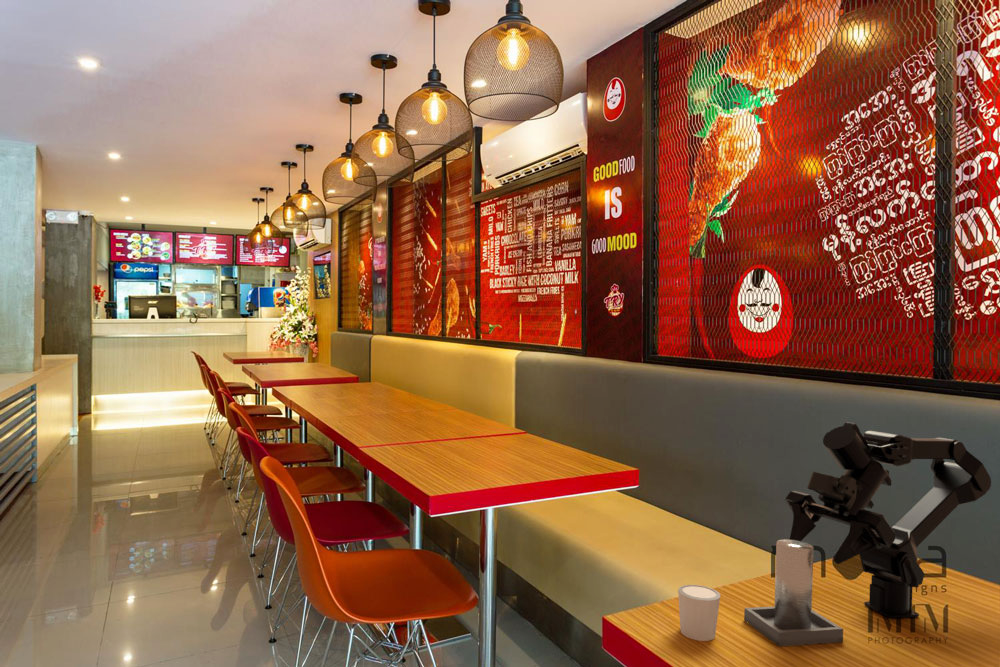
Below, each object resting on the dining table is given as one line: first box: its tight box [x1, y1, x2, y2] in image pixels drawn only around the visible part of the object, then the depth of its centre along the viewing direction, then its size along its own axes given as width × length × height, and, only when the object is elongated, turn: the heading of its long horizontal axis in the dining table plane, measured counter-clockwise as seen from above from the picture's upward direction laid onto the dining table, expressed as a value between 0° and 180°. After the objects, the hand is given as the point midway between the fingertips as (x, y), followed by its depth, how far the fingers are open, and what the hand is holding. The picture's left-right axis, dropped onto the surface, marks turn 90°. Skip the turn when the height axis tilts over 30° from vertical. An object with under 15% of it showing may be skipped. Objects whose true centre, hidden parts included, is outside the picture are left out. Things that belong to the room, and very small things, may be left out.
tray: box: [743, 605, 844, 647], centre depth 111 cm, size 12×10×2 cm
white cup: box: [677, 584, 721, 642], centre depth 108 cm, size 7×7×7 cm
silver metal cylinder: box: [773, 538, 814, 630], centre depth 111 cm, size 6×6×14 cm
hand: (812, 553), depth 113 cm, fingers open, 9 cm apart
